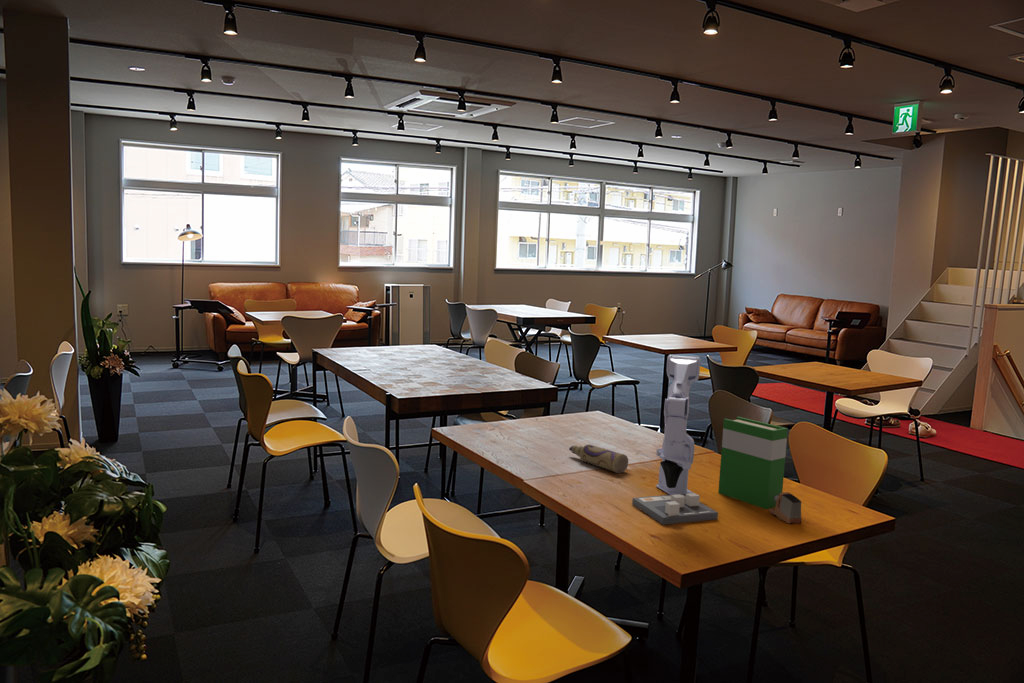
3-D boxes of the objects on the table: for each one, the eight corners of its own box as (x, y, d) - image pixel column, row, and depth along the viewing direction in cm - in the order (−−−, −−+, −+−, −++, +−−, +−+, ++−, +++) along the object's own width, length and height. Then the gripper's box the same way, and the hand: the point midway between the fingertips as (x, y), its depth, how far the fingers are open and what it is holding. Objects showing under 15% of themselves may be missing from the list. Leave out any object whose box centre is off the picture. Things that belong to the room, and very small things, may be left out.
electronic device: (780, 512, 215) (782, 487, 214) (802, 524, 206) (804, 498, 205) (767, 513, 214) (769, 488, 213) (789, 525, 205) (791, 499, 204)
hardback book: (718, 492, 231) (723, 418, 228) (732, 489, 235) (738, 416, 233) (766, 509, 217) (773, 431, 214) (781, 505, 221) (787, 428, 219)
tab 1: (664, 512, 204) (665, 502, 204) (674, 511, 205) (674, 501, 205) (669, 515, 202) (670, 504, 202) (678, 514, 203) (679, 504, 203)
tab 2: (685, 503, 212) (685, 493, 212) (693, 502, 213) (694, 493, 213) (690, 506, 210) (690, 496, 210) (698, 505, 211) (699, 495, 211)
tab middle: (670, 505, 211) (671, 494, 210) (679, 504, 212) (680, 494, 211) (675, 507, 208) (675, 497, 208) (684, 507, 209) (684, 496, 209)
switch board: (632, 504, 216) (632, 497, 216) (684, 499, 223) (684, 493, 222) (662, 524, 201) (663, 517, 200) (717, 519, 207) (718, 511, 207)
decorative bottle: (629, 472, 250) (630, 453, 249) (614, 475, 246) (615, 456, 245) (578, 454, 270) (578, 436, 270) (563, 457, 266) (563, 439, 265)
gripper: (648, 434, 208) (645, 480, 209) (676, 447, 194) (673, 496, 196) (669, 433, 210) (666, 478, 212) (698, 446, 197) (695, 494, 198)
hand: (671, 487), depth 204 cm, fingers closed
